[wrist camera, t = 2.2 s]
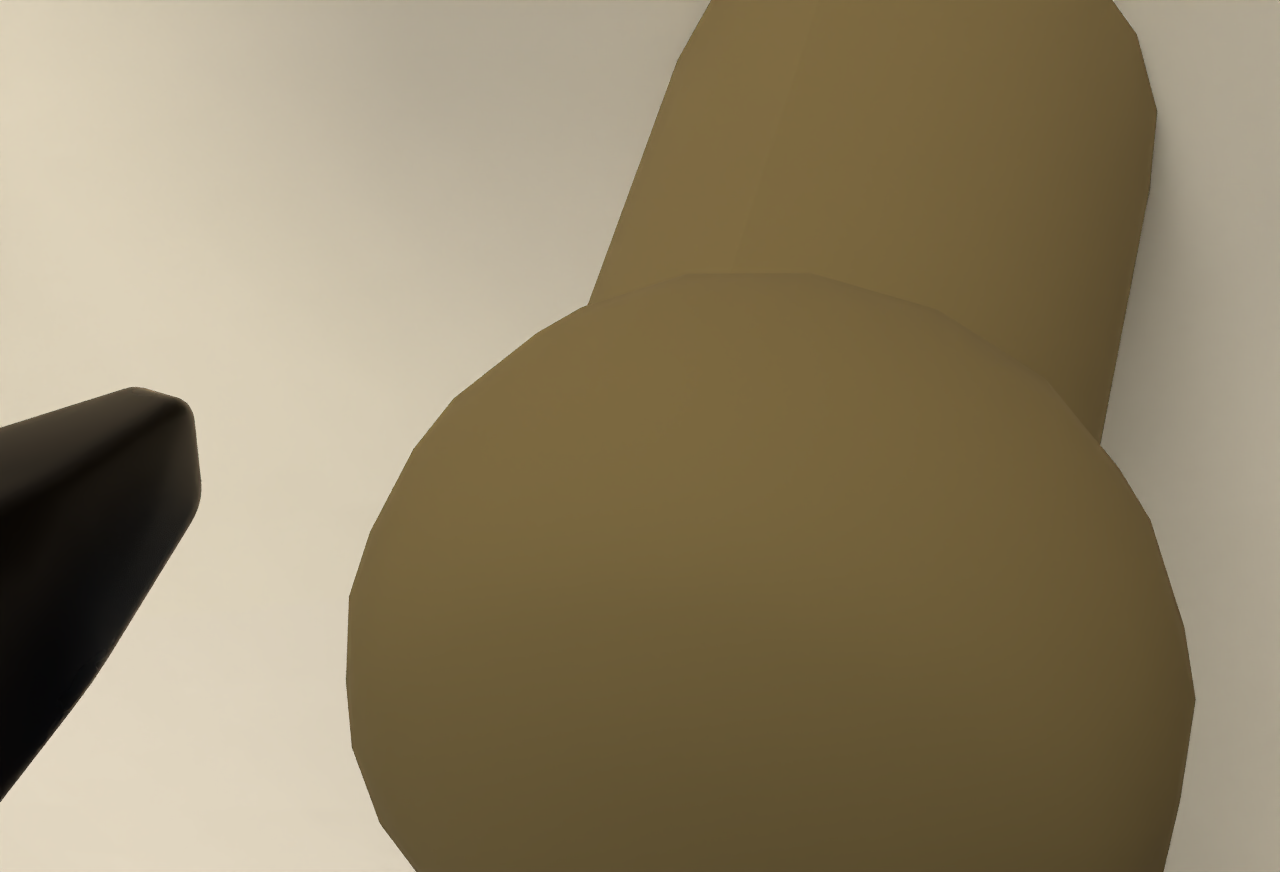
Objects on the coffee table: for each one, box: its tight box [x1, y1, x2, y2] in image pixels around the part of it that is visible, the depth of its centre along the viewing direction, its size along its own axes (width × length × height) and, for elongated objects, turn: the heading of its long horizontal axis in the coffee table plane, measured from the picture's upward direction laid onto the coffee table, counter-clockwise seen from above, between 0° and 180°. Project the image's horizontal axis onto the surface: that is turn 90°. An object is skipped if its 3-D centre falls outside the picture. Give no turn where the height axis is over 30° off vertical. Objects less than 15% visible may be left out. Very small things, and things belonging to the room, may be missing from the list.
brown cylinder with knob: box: [346, 0, 1196, 872], centre depth 11 cm, size 6×6×11 cm
